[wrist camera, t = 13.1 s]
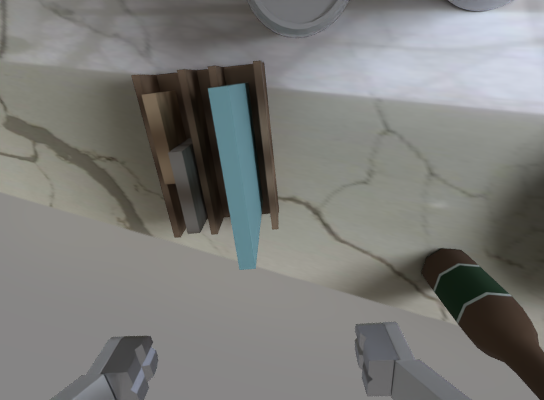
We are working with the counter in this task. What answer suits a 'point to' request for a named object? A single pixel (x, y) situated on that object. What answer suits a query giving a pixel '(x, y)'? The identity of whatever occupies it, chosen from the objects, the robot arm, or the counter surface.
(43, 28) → the counter surface
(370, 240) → the counter surface
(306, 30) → the disposable coffee cup
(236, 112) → the tall sheet
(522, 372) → the beer bottle
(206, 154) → the rack
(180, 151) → the offcut
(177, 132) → the offcut
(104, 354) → the robot arm
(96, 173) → the counter surface
